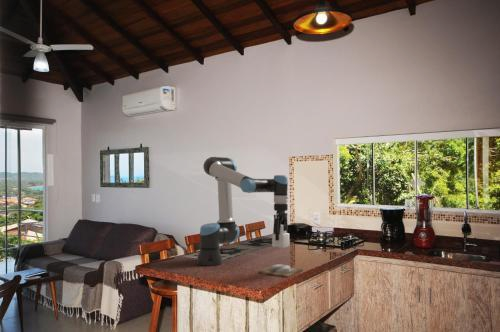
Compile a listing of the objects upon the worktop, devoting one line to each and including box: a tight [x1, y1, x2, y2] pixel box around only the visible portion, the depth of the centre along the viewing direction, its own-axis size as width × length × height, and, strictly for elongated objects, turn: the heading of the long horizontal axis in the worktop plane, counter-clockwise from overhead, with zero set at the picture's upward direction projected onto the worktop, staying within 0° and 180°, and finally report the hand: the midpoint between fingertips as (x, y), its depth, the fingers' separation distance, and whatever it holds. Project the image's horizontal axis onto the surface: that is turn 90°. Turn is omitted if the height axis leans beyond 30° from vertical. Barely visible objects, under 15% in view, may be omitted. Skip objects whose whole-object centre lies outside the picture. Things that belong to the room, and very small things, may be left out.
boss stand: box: [257, 263, 304, 279], centre depth 200 cm, size 18×18×3 cm
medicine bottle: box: [271, 224, 291, 249], centre depth 201 cm, size 7×7×12 cm
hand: (280, 245), depth 201 cm, fingers closed on medicine bottle, 8 cm apart
